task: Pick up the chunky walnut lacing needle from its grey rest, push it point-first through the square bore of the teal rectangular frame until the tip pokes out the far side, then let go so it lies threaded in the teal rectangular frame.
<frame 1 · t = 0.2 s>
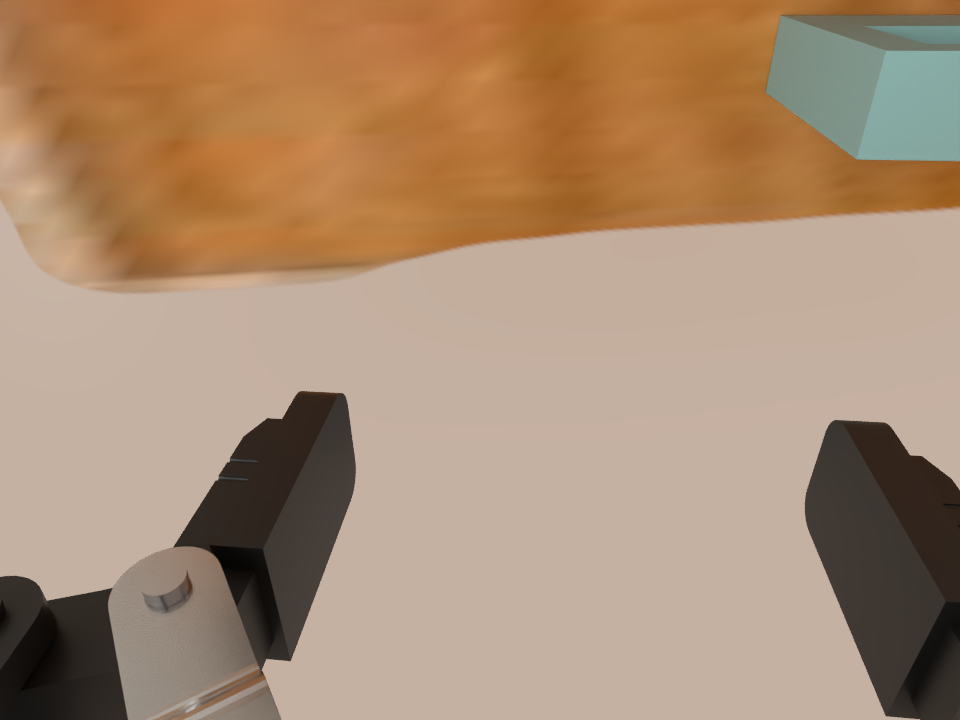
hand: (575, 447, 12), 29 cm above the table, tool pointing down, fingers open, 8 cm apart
teal rectangular frame: (868, 55, 33), on the table
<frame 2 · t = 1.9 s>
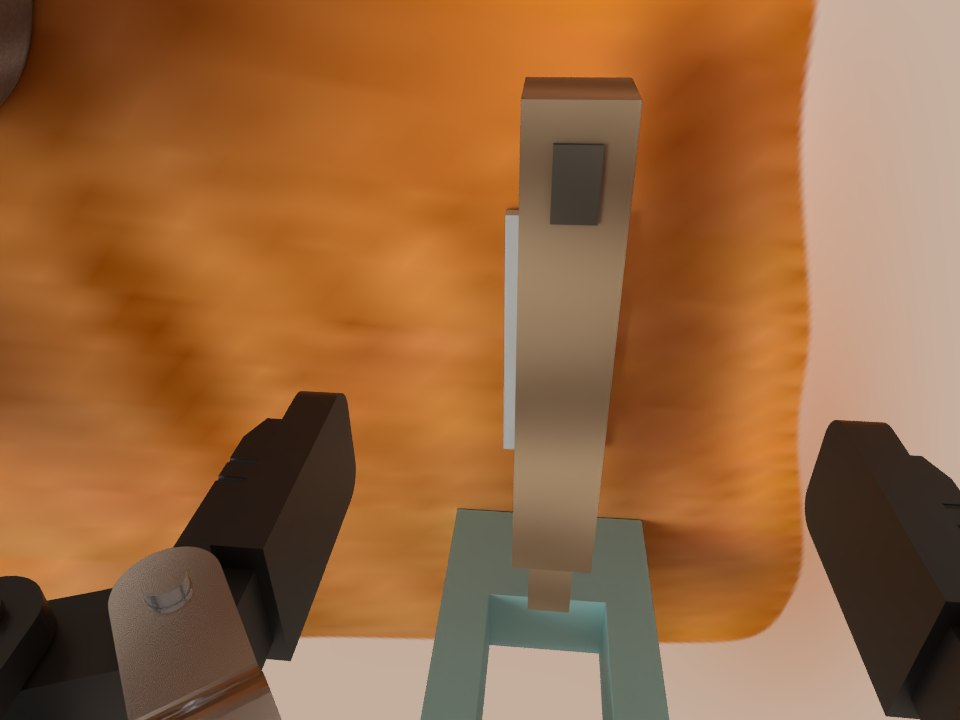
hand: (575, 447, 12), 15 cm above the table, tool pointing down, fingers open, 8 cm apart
needle: (562, 336, 23), point 5 cm above the table, touching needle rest
teal rectangular frame: (547, 539, 35), on the table
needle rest: (562, 272, 27), on the table
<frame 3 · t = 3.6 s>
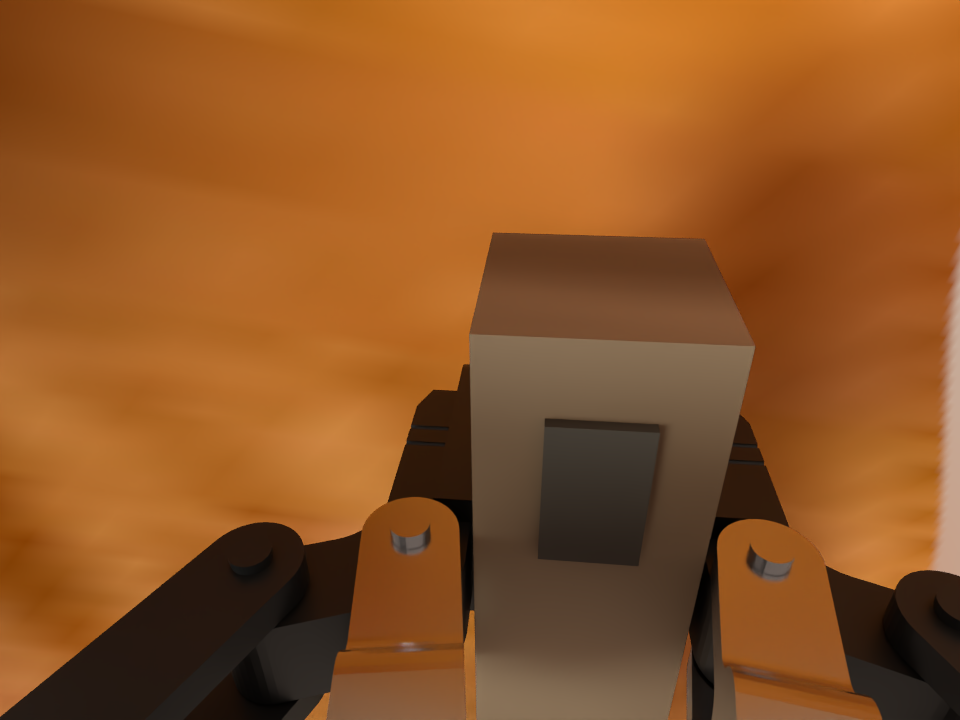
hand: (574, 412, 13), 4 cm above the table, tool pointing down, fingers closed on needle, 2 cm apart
needle: (563, 624, 13), point 5 cm above the table, touching gripper, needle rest
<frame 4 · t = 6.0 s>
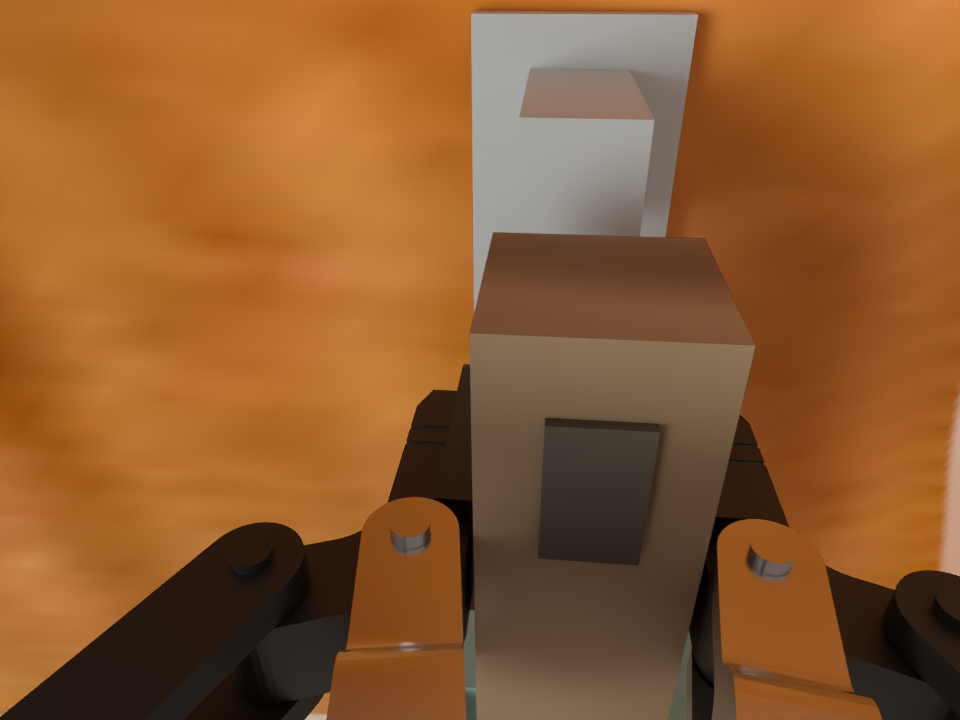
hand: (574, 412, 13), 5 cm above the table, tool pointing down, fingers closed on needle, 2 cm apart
needle: (563, 623, 13), point 7 cm above the table, touching gripper
teal rectangular frame: (543, 585, 23), on the table
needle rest: (573, 137, 15), on the table
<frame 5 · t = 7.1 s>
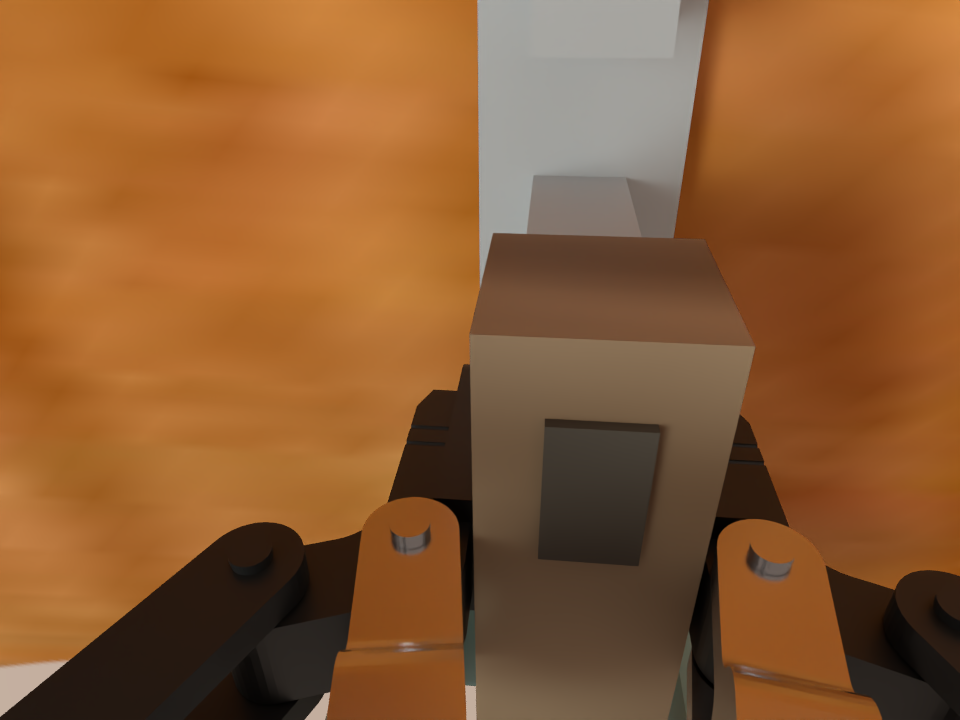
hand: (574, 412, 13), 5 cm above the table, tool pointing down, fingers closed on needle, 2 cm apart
needle: (563, 624, 13), point 7 cm above the table, touching gripper
teal rectangular frame: (555, 504, 21), on the table
when the fingers open (5 cm above the table, at t = 8.2 s): needle drops 2 cm, resting on teal rectangular frame, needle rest.
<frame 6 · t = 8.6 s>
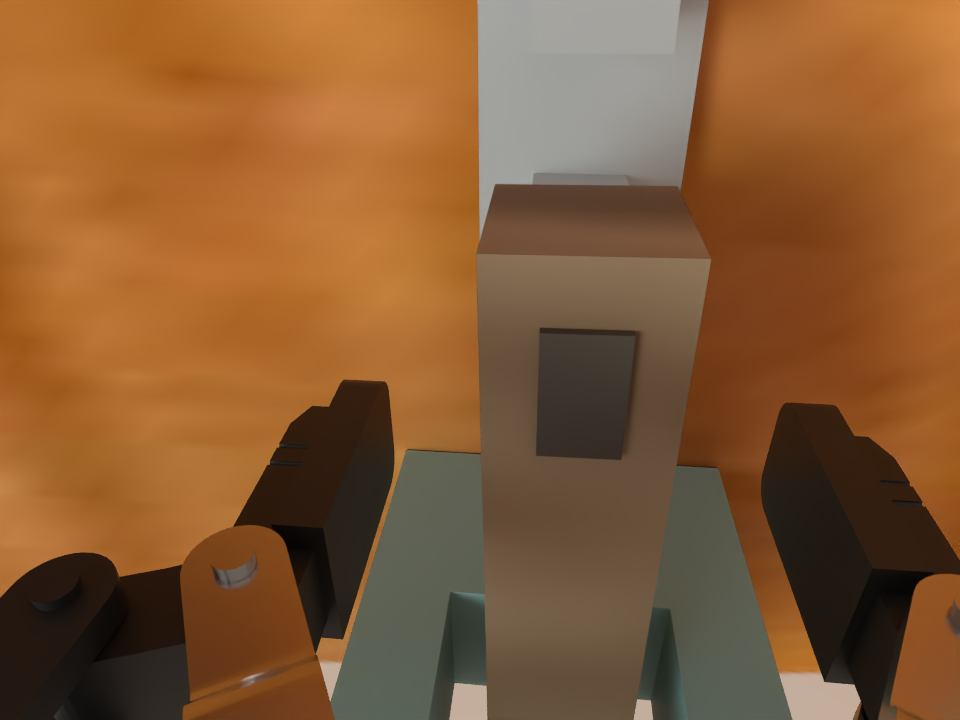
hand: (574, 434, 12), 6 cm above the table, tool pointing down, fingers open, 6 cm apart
needle: (562, 549, 15), point 5 cm above the table, touching teal rectangular frame, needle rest
teal rectangular frame: (556, 503, 21), on the table
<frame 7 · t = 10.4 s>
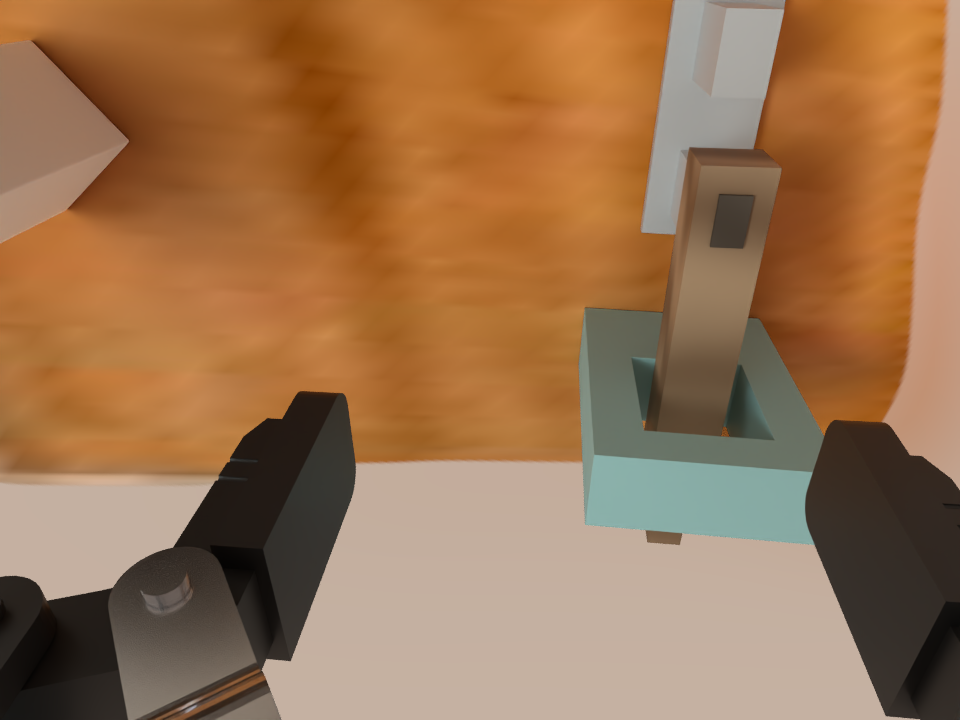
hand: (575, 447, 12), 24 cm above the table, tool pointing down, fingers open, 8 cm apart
milk: (52, 129, 35), on the table
needle: (692, 329, 31), point 5 cm above the table, touching teal rectangular frame, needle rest
teal rectangular frame: (665, 342, 37), on the table
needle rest: (719, 41, 29), on the table
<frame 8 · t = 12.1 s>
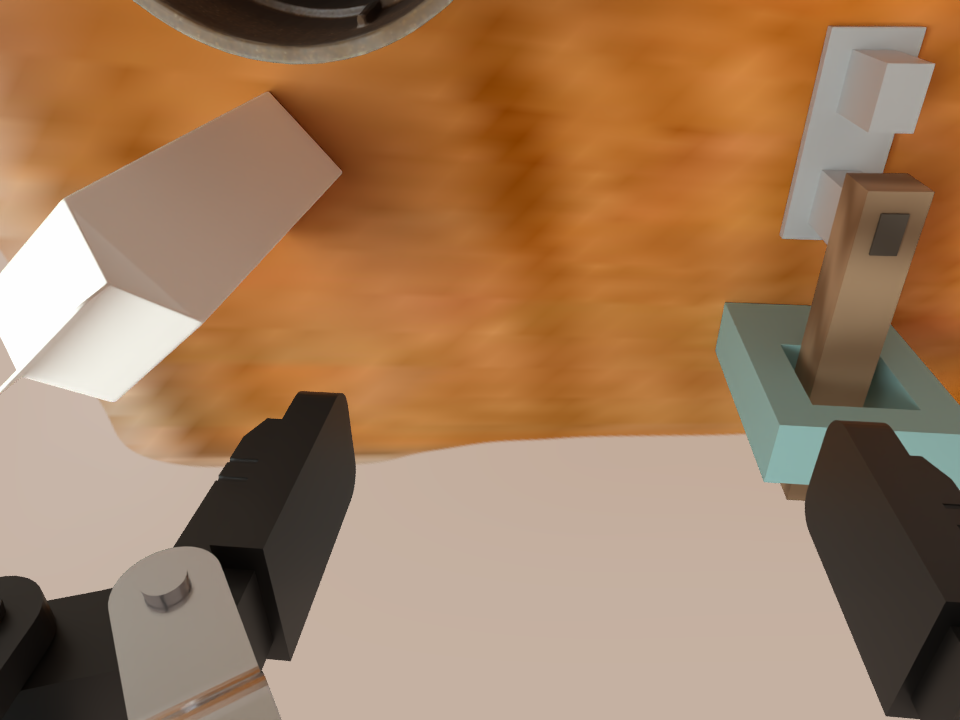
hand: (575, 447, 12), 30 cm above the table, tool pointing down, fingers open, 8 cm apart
milk: (275, 163, 41), on the table
needle: (834, 320, 37), point 5 cm above the table, touching teal rectangular frame, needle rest
teal rectangular frame: (793, 330, 43), on the table
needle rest: (860, 79, 35), on the table
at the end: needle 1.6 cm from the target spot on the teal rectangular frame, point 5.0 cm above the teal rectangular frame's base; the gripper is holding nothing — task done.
